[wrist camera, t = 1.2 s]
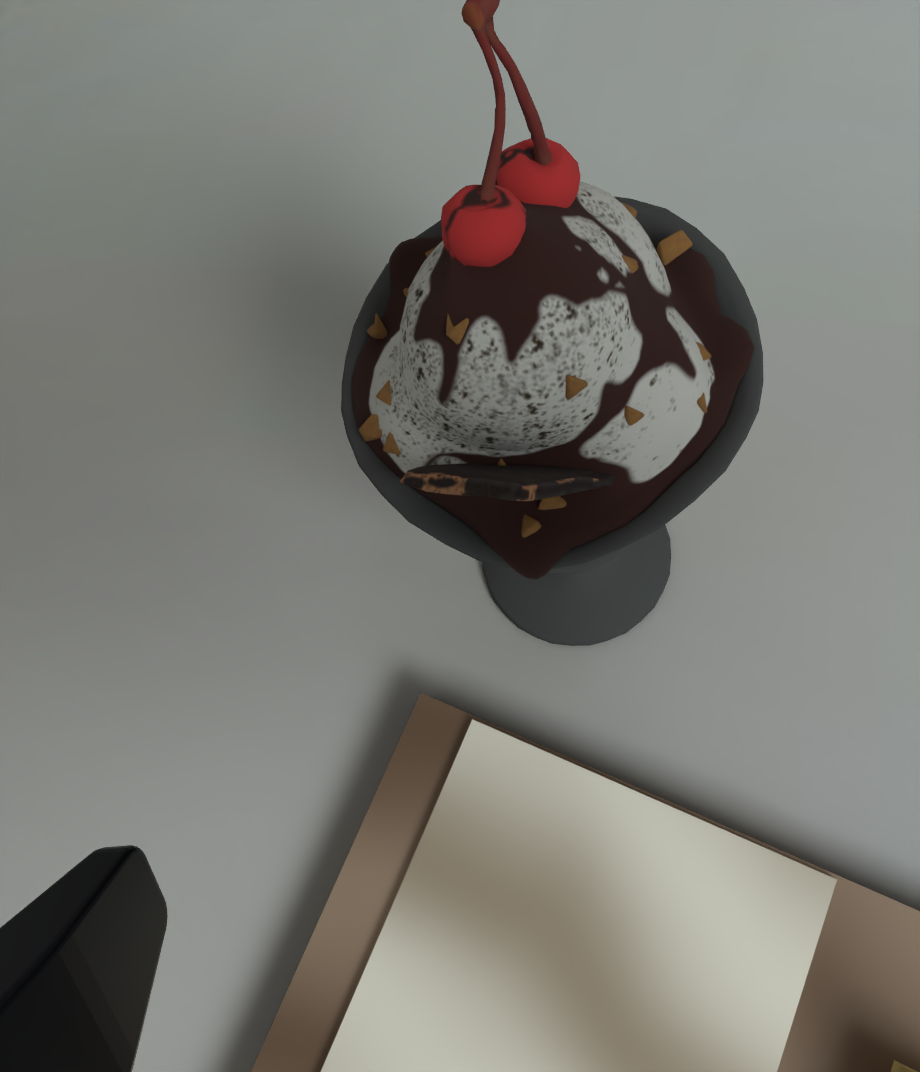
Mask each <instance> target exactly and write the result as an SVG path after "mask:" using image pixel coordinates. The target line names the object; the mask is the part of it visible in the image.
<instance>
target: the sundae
mask: <svg viewBox="0 0 920 1072" xmlns="http://www.w3.org/2000/svg"><path fill="white" fill-rule="evenodd" d="M499 1H500V0H467V1H466V3H465V4H464V6H463V8H462V16H463V20H464V22H465V23H466V24H467V25H468V26H470V27H471V29H472V31H473V33H474V35H475V37H476V39H477V41H478V43H479V45H480V47H481V49H482V51H483V54H484V56H485V59H486V62H487V65H488V67H489V70H490V73H491V76H492V78H493V84H494V91H495V99H496V109H495V129H494V134H493V138H492V143H491V147H490V152H489V156H488V160H487V164H486V169H485V173H484V176H483V180H482V185H469V186H465V187H464V188H462V189H461V190H460V191H458V192H457V193H456V194H455V195H454V196H453V197H452V198H451V199H450V200H449V201H448V202H447V203H446V204H445V205H444V206H443V209H442V215H441V220H440V221H439V222H437V223H436V224H434V225H433V226H432V227H430V228H429V229H427V230H426V231H424V232H423V233H421V234H420V235H418V236H417V237H416V238H414V239H409V240H407V241H404V242H401V243H400V244H399V245H398V246H397V247H396V248H395V250H394V251H393V253H392V255H391V257H390V259H389V263H388V264H387V265H386V266H385V268H384V270H383V271H382V273H381V275H380V276H379V278H378V280H377V281H376V283H375V284H374V286H373V288H372V289H371V291H370V293H369V294H368V296H367V298H366V300H365V302H364V304H363V307H362V309H361V311H360V313H359V316H358V318H357V320H356V322H355V324H354V327H353V331H352V335H351V339H350V343H349V347H348V351H347V355H346V360H345V367H344V373H343V380H342V401H341V411H342V416H343V420H344V425H345V429H346V433H347V437H348V439H349V442H350V444H351V447H352V449H353V452H354V455H355V457H356V460H357V462H358V465H359V467H360V468H361V469H362V470H363V472H364V473H365V474H366V476H367V477H368V478H369V479H370V481H371V482H372V483H373V485H374V486H375V487H376V488H377V490H378V491H379V492H380V494H381V495H382V496H383V497H384V498H385V499H386V500H387V501H388V502H389V503H390V504H391V505H392V506H393V507H394V508H395V509H396V510H397V511H398V512H399V513H400V514H401V515H402V516H403V517H404V518H405V519H406V520H407V521H409V522H410V523H412V524H413V525H415V526H416V527H418V528H420V529H421V530H423V531H424V532H426V533H428V534H429V535H431V536H433V537H434V538H436V539H437V540H439V541H441V542H442V543H444V544H446V545H448V546H450V547H452V548H454V549H456V550H458V551H460V552H462V553H464V554H466V555H468V556H470V557H472V558H475V559H477V560H480V561H483V571H484V574H485V578H486V582H487V585H488V588H489V590H490V593H491V595H492V597H493V600H494V602H495V603H496V604H497V605H498V607H499V608H500V609H501V610H502V612H503V613H504V614H505V615H506V616H507V617H508V618H509V619H510V620H511V621H512V622H513V623H514V624H515V625H516V626H517V627H518V628H520V629H522V630H523V631H525V632H527V633H529V634H531V635H532V636H534V637H537V638H539V639H542V640H544V641H547V642H549V643H553V644H561V645H570V646H574V645H593V644H596V643H600V642H604V641H607V640H610V639H612V638H615V637H617V636H619V635H622V634H624V633H626V632H628V631H629V630H630V629H631V628H633V627H634V626H635V625H637V624H638V623H639V622H640V621H641V620H642V619H643V618H644V617H645V616H646V615H647V614H648V613H649V612H650V611H651V610H652V609H653V608H654V607H655V605H656V603H657V601H658V600H659V598H660V596H661V594H662V592H663V590H664V588H665V585H666V582H667V580H668V577H669V575H670V563H671V548H670V537H669V535H668V532H667V529H666V526H665V524H666V523H667V522H669V521H670V520H671V519H672V518H674V517H675V516H676V515H678V514H679V513H680V512H681V511H683V510H684V509H685V508H686V507H688V506H689V505H690V504H691V503H693V502H694V501H695V500H696V499H697V498H698V497H699V496H700V495H701V494H702V493H703V492H704V491H705V490H706V489H707V488H708V487H709V486H710V485H712V484H713V483H714V482H715V481H716V480H717V479H718V478H719V477H720V476H721V475H722V474H723V473H724V472H725V471H726V469H727V468H728V466H729V464H730V463H731V461H732V460H733V458H734V457H735V455H736V453H737V452H738V450H739V449H740V447H741V445H742V444H743V442H744V441H745V439H746V437H747V435H748V433H749V431H750V428H751V426H752V424H753V422H754V420H755V418H756V415H757V413H758V411H759V405H760V399H761V393H762V387H763V351H762V346H761V340H760V334H759V329H758V323H757V318H756V316H755V314H754V311H753V309H752V306H751V304H750V301H749V299H748V297H747V294H746V292H745V289H744V287H743V285H742V284H741V282H740V280H739V278H738V277H737V275H736V273H735V272H734V270H733V268H732V267H731V265H730V263H729V261H728V260H727V258H726V256H725V255H724V253H723V252H722V251H720V250H719V249H718V248H717V247H716V246H715V245H714V244H713V243H712V242H711V241H710V240H709V239H708V238H707V237H705V236H704V235H703V234H702V233H701V232H700V231H699V230H698V229H697V228H695V227H694V226H692V225H691V224H689V223H688V222H686V221H684V220H683V219H681V218H680V217H678V216H677V215H675V214H673V213H672V212H670V211H669V210H667V209H665V208H662V207H658V206H655V205H651V204H647V203H644V202H640V201H637V200H633V199H628V198H620V197H613V196H612V195H611V194H609V193H607V192H605V191H603V190H601V189H599V188H597V187H595V186H592V185H589V184H586V183H582V182H580V172H579V167H578V163H577V161H576V160H575V159H574V158H573V157H572V156H571V155H570V153H569V152H568V151H567V150H566V149H565V148H564V147H563V146H562V145H561V144H559V143H556V142H554V141H552V140H549V139H547V138H545V135H544V131H543V127H542V123H541V121H540V118H539V115H538V112H537V110H536V108H535V105H534V103H533V101H532V98H531V96H530V94H529V91H528V89H527V87H526V84H525V82H524V80H523V78H522V76H521V74H520V72H519V70H518V68H517V66H516V64H515V63H514V61H513V59H512V58H511V56H510V55H509V53H508V51H507V50H506V48H505V47H504V46H503V44H502V43H501V42H500V40H499V39H498V37H497V35H496V33H495V31H494V24H493V15H494V13H495V11H496V9H497V8H498V6H499ZM491 46H492V47H491ZM492 48H493V49H494V51H495V53H496V54H497V56H498V57H499V59H500V61H501V62H502V64H503V65H504V67H505V68H506V70H507V71H508V74H509V76H510V79H511V81H512V84H513V87H514V90H515V92H516V95H517V98H518V101H519V103H520V106H521V109H522V111H523V114H524V116H525V120H526V123H527V126H528V129H529V131H530V133H531V139H528V140H524V141H521V142H519V143H517V144H515V145H513V146H510V147H508V148H507V149H505V150H504V151H502V145H503V138H504V130H505V93H504V88H503V83H502V78H501V74H500V71H499V68H498V64H497V61H496V58H495V56H494V53H493V50H492Z"/></svg>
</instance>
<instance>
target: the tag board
mask: <svg viewBox="0 0 920 1072" xmlns="http://www.w3.org/2000/svg"><path fill="white" fill-rule="evenodd" d="M251 1072H920V911H918V910H916V909H914V908H911V907H909V906H907V905H904V904H902V903H900V902H898V901H895V900H893V899H891V898H888V897H886V896H884V895H882V894H879V893H877V892H875V891H872V890H870V889H868V888H866V887H863V886H861V885H859V884H856V883H854V882H852V881H850V880H847V879H845V878H843V877H841V876H838V875H836V874H834V873H831V872H829V871H827V870H825V869H822V868H820V867H818V866H815V865H813V864H811V863H809V862H806V861H804V860H802V859H799V858H797V857H795V856H793V855H790V854H788V853H786V852H783V851H781V850H779V849H777V848H774V847H772V846H770V845H767V844H765V843H763V842H761V841H758V840H756V839H754V838H751V837H749V836H747V835H745V834H742V833H740V832H738V831H736V830H733V829H731V828H729V827H726V826H724V825H722V824H720V823H717V822H715V821H713V820H710V819H708V818H706V817H704V816H701V815H699V814H697V813H694V812H692V811H690V810H688V809H685V808H683V807H681V806H678V805H676V804H674V803H672V802H669V801H667V800H665V799H662V798H660V797H658V796H656V795H653V794H651V793H649V792H647V791H644V790H642V789H640V788H637V787H635V786H633V785H631V784H628V783H626V782H624V781H621V780H619V779H617V778H615V777H612V776H610V775H608V774H605V773H603V772H601V771H599V770H596V769H594V768H592V767H589V766H587V765H585V764H583V763H580V762H578V761H576V760H573V759H571V758H569V757H567V756H564V755H562V754H560V753H558V752H555V751H553V750H551V749H548V748H546V747H544V746H542V745H539V744H537V743H535V742H532V741H530V740H528V739H526V738H523V737H521V736H519V735H516V734H514V733H512V732H510V731H507V730H505V729H503V728H500V727H498V726H496V725H494V724H491V723H489V722H487V721H484V720H482V719H480V718H478V717H475V716H473V715H471V714H468V713H466V712H464V711H462V710H459V709H457V708H455V707H453V706H450V705H448V704H446V703H443V702H441V701H439V700H437V699H434V698H432V697H430V696H427V695H425V694H423V693H420V695H419V697H418V700H417V702H416V704H415V706H414V709H413V711H412V713H411V715H410V718H409V720H408V722H407V724H406V726H405V729H404V731H403V733H402V735H401V738H400V740H399V742H398V744H397V747H396V749H395V751H394V753H393V755H392V758H391V760H390V762H389V764H388V767H387V769H386V771H385V773H384V776H383V778H382V780H381V782H380V784H379V787H378V789H377V791H376V793H375V796H374V798H373V800H372V802H371V805H370V807H369V809H368V811H367V813H366V816H365V818H364V820H363V822H362V825H361V827H360V829H359V831H358V834H357V836H356V838H355V840H354V842H353V845H352V847H351V849H350V851H349V854H348V856H347V858H346V860H345V863H344V865H343V867H342V869H341V871H340V874H339V876H338V878H337V880H336V883H335V885H334V887H333V889H332V892H331V894H330V896H329V898H328V900H327V903H326V905H325V907H324V909H323V912H322V914H321V916H320V918H319V921H318V923H317V925H316V927H315V929H314V932H313V934H312V936H311V938H310V941H309V943H308V945H307V947H306V950H305V952H304V954H303V956H302V958H301V961H300V963H299V965H298V967H297V970H296V972H295V974H294V976H293V979H292V981H291V983H290V985H289V987H288V990H287V992H286V994H285V996H284V999H283V1001H282V1003H281V1005H280V1008H279V1010H278V1012H277V1014H276V1016H275V1019H274V1021H273V1023H272V1025H271V1028H270V1030H269V1032H268V1034H267V1037H266V1039H265V1041H264V1043H263V1045H262V1048H261V1050H260V1052H259V1054H258V1057H257V1059H256V1061H255V1063H254V1066H253V1068H252V1070H251Z"/></svg>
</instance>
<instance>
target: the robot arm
mask: <svg viewBox="0 0 920 1072" xmlns="http://www.w3.org/2000/svg"><path fill="white" fill-rule="evenodd" d="M166 926H167V907H166V902H165V899H164V897H163V894H162V892H161V890H160V888H159V885H158V883H157V881H156V879H155V876H154V874H153V872H152V870H151V867H150V865H149V863H148V861H147V858H146V856H145V854H144V852H143V851H142V850H141V849H140V848H138V847H137V846H132V845H129V846H117V847H104V848H101V849H98V850H95V851H94V852H92V853H91V854H90V855H88V856H87V857H86V858H85V859H84V860H82V861H81V862H80V863H79V864H77V865H76V866H75V867H74V868H73V869H71V870H70V871H69V872H68V873H67V874H65V875H64V876H63V877H62V878H60V879H59V880H58V881H57V882H56V883H54V884H53V885H52V886H51V887H50V888H48V889H47V890H46V891H45V892H43V893H42V894H41V895H40V896H39V897H37V898H36V899H35V900H34V901H32V902H31V903H30V904H29V905H28V906H26V907H25V908H24V909H23V910H22V911H20V912H19V913H18V914H17V915H15V916H14V917H13V918H12V919H11V920H9V921H8V922H7V923H6V924H4V925H3V926H2V927H1V928H0V1072H132V1069H133V1065H134V1061H135V1057H136V1053H137V1049H138V1045H139V1041H140V1036H141V1032H142V1028H143V1024H144V1020H145V1015H146V1011H147V1007H148V1003H149V998H150V994H151V990H152V986H153V982H154V977H155V973H156V969H157V965H158V961H159V956H160V952H161V948H162V944H163V940H164V935H165V931H166Z"/></svg>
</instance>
